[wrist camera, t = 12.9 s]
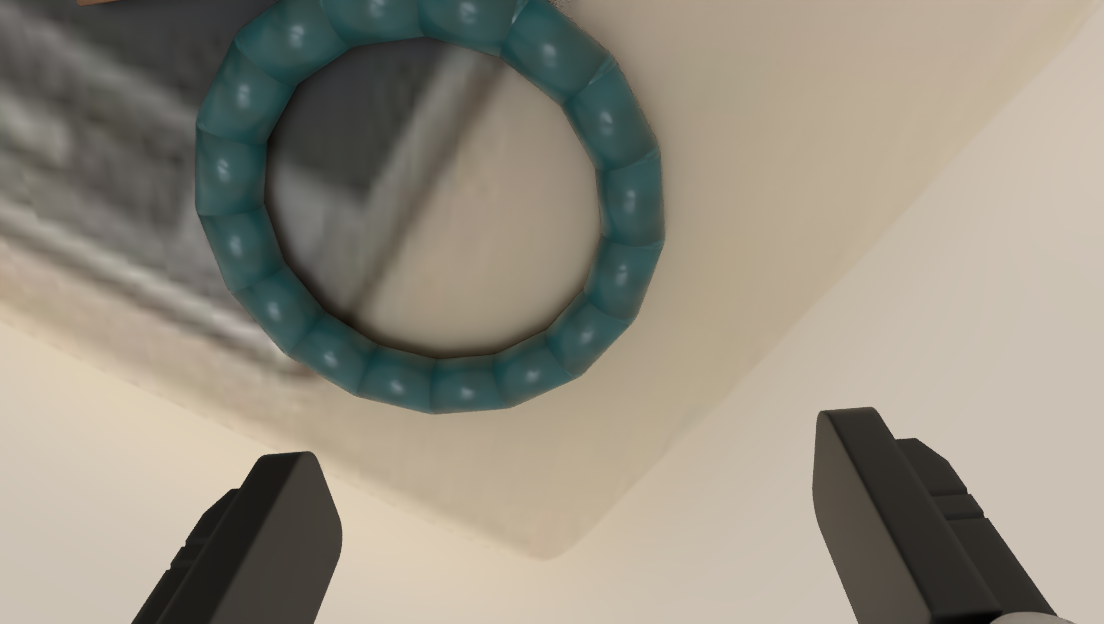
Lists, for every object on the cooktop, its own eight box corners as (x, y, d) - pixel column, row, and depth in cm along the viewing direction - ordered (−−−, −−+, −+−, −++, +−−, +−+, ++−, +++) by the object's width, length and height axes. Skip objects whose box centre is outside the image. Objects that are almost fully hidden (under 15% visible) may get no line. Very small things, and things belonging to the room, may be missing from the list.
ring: (295, 406, 33) (275, 438, 30) (140, 0, 24) (97, 5, 22) (672, 374, 31) (678, 406, 29) (643, -79, 22) (648, -82, 20)
